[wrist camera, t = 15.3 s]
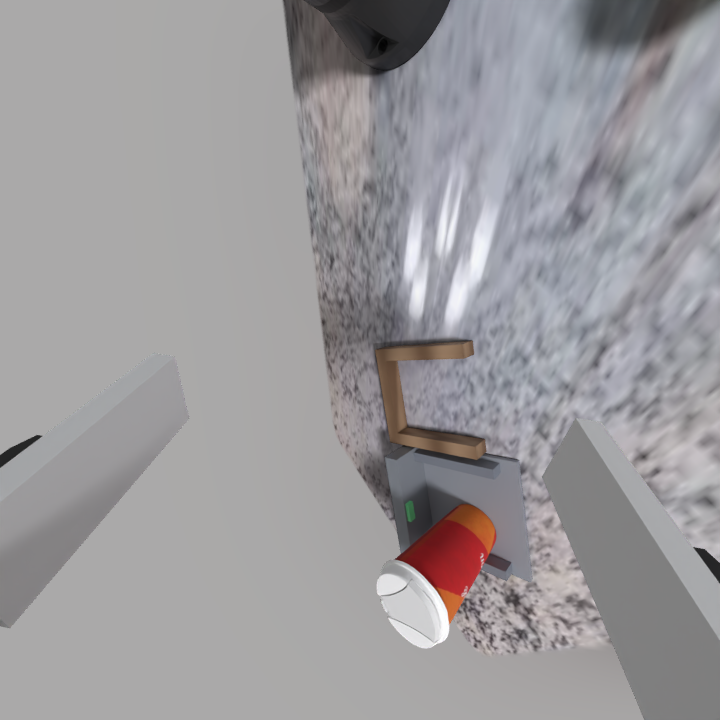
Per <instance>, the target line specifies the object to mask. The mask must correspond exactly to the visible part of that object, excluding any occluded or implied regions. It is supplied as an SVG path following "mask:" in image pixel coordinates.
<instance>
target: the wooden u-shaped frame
mask: <svg viewBox="0 0 720 720" xmlns="http://www.w3.org/2000/svg"><path fill="white" fill-rule="evenodd" d="M375 352H376V358H377V364H378V370H379V376H380V382H381V388H382V395H383V401H384V407H385V413H386V419H387V425H388V431H389V437H390V442H391V443H396V444H401V445H406V446H411V447H416V448H420V449H425V450H430V451H435V452H440V453H445V454H450V455H455V456H460V457H465V458H470V459H475V460H478V459H479V458H480V457H481V456H482V455H483V454H484V453H485V452H486V445H485V439H481V438H474V437H467V436H461V435H454V434H448V433H441V432H434V431H428V430H421V429H415V428H408V427H407V421H406V414H405V408H404V401H403V395H402V389H401V382H400V376H399V369H398V363H397V361H398V360H431V359H464V358H467V357H469V356H471V355H474V349H473V341H461V342H447V343H432V344H418V345H404V346H390V347H384V348H380V349H377V350H375Z"/></svg>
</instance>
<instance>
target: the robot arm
mask: <svg viewBox="0 0 720 720" xmlns="http://www.w3.org/2000/svg"><path fill="white" fill-rule="evenodd" d="M304 1H305V2H307V3H309V4H310V5H312V6H313V7H315V8H316V9H318V10H319V11H321V12H322V13H323V14H324V15H325V17H326V18H327V19H328V21H329V22H330V24H331V25H332V26H333V28H334V29H335V31H336V32H337V34H338V35H339V36H340V38H341V39H342V41H343V42H344V43H345V45H346V46H347V48H348V49H349V50H350V52H351V53H352V54H353V55H354V56H355V57H356V58H357V59H359V60H360V61H362V62H364V63H365V64H367V65H369V66H370V67H372V68H375V69H378V70H388V69H392V68H395V67H397V66H399V65H401V64H403V63H404V62H406V61H407V60H409V59H410V58H411V57H412V56H413V55H414V54H415V53H416V52H417V51H418V50H419V49H420V48H421V47H422V46H423V45H424V44H425V42H426V41H427V40H428V39H429V37H430V36H431V34H432V33H433V31H434V30H435V28H436V27H437V25H438V23H439V22H440V20H441V18H442V16H443V14H444V12H445V10H446V8H447V6H448V4H449V1H450V0H304ZM188 419H189V415H188V411H187V407H186V403H185V398H184V393H183V389H182V385H181V381H180V376H179V372H178V367H177V363H176V359H175V356H168V355H162V354H156V353H153V354H152V355H150V356H149V357H148V358H146V359H145V360H144V361H142V362H141V363H140V364H138V365H137V366H136V367H134V368H133V369H132V370H130V371H129V372H128V373H126V374H125V375H124V376H122V377H121V378H120V379H118V380H117V381H116V382H114V383H113V384H112V385H110V386H109V387H108V388H106V389H105V390H104V391H102V392H101V393H100V394H98V395H97V396H96V397H94V398H93V399H92V400H90V401H89V402H88V403H86V404H85V405H84V406H82V407H81V408H80V409H78V410H77V411H76V412H74V413H73V414H72V415H70V416H69V417H68V418H66V419H65V420H64V421H62V422H61V423H60V424H58V425H57V426H56V427H54V428H53V429H52V430H50V431H49V432H48V433H46V434H45V435H44V436H40V435H36V436H34V437H32V438H30V439H28V440H26V441H24V442H22V443H20V444H18V445H16V446H14V447H11V448H10V449H8V450H7V451H5V452H4V453H3V454H1V455H0V626H2V627H7V628H10V627H11V626H12V625H13V624H14V623H15V621H16V620H17V619H18V618H19V617H20V616H21V615H22V613H23V612H24V611H25V610H26V609H27V608H28V606H29V605H30V604H31V603H32V602H33V601H34V599H35V598H36V597H37V596H38V595H39V594H40V592H41V591H42V590H43V589H44V588H45V586H46V585H47V584H48V583H49V582H50V581H51V580H52V578H53V577H54V576H55V575H56V574H57V573H58V571H59V570H60V569H61V568H62V567H63V566H64V564H65V563H66V562H67V561H68V560H69V559H70V557H71V556H72V555H73V554H74V553H75V551H76V550H77V549H78V548H79V547H80V546H81V544H82V543H83V542H84V541H85V540H86V539H87V537H88V536H89V535H90V534H91V533H92V532H93V530H94V529H95V528H96V527H97V526H98V524H99V523H100V522H101V521H102V520H103V519H104V518H105V516H106V515H107V514H108V513H109V512H110V510H111V509H112V508H113V507H114V506H115V505H116V504H117V502H118V501H119V500H120V499H121V498H122V497H123V495H124V494H125V493H126V492H127V490H129V488H130V487H131V486H132V485H133V483H134V482H135V481H136V480H137V479H138V478H139V477H140V475H141V474H142V473H143V472H144V471H145V469H146V468H147V467H148V466H149V465H150V464H151V462H152V461H153V460H154V459H155V458H156V456H158V454H159V453H160V452H161V451H162V450H163V449H164V447H165V446H166V445H167V444H168V443H169V442H170V440H171V439H172V438H173V437H174V436H175V435H176V433H177V432H178V431H179V430H180V429H181V428H182V426H183V425H184V424H185V423H186V422H187V420H188ZM542 478H543V480H544V482H545V485H546V487H547V490H548V492H549V494H550V497H551V499H552V502H553V504H554V506H555V509H556V511H557V513H558V516H559V518H560V521H561V523H562V525H563V528H564V530H565V532H566V535H567V537H568V540H569V542H570V544H571V547H572V549H573V551H574V554H575V556H576V559H577V561H578V563H579V566H580V568H581V570H582V573H583V575H584V578H585V580H586V582H587V585H588V587H589V589H590V592H591V594H592V597H593V599H594V601H595V604H596V606H597V608H598V611H599V613H600V616H601V618H602V620H603V623H604V625H605V627H606V630H607V632H608V635H609V637H610V639H611V642H612V644H613V646H614V649H615V651H616V653H617V656H618V658H619V661H620V663H621V665H622V668H623V670H624V673H625V675H626V677H627V680H628V682H629V684H630V687H631V689H632V692H633V694H634V696H635V699H636V701H637V703H638V706H639V708H640V710H641V713H642V715H643V718H644V720H720V563H719V562H718V561H717V560H716V559H715V558H714V557H713V556H711V555H710V554H709V553H708V552H707V551H706V550H705V549H701V548H695V547H692V545H691V544H690V542H689V541H688V540H687V538H686V537H685V536H684V534H683V533H682V532H681V530H680V529H679V528H678V526H677V525H676V523H675V522H674V521H673V519H672V518H671V517H670V515H669V514H668V513H667V511H666V510H665V508H664V507H663V506H662V504H661V503H660V502H659V500H658V499H657V498H656V496H655V495H654V494H653V492H652V491H651V489H650V488H649V487H648V485H647V484H646V483H645V481H644V480H643V479H642V477H641V476H640V474H639V473H638V472H637V470H636V469H635V468H634V466H633V465H632V464H631V462H630V461H629V460H628V458H627V457H626V455H625V454H624V453H623V451H622V450H621V449H620V447H619V446H618V445H617V443H616V442H615V440H614V439H613V438H612V436H611V435H610V434H609V432H608V431H607V430H606V428H605V427H604V425H603V424H602V423H601V422H597V421H591V420H584V419H578V418H576V419H575V420H574V422H573V424H572V426H571V427H570V429H569V431H568V433H567V434H566V436H565V438H564V439H563V441H562V443H561V445H560V446H559V448H558V450H557V452H556V453H555V455H554V457H553V459H552V460H551V462H550V464H549V466H548V467H547V469H546V471H545V472H544V474H543V476H542Z"/></svg>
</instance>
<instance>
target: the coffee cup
mask: <svg viewBox="0 0 720 720" xmlns="http://www.w3.org/2000/svg"><path fill="white" fill-rule="evenodd" d="M495 542H496V530H495V527H494V525H493V523H492V521H491V520H490V518H489V517H488V516H487V515H486V514H485V513H484V512H483V511H482V510H480V509H479V508H477V507H475V506H473V505H469V504H461V505H459V506H457V507H455V508H454V509H453V510H452V511H450V512H449V513H448V514H447V515H445V516H444V517H443V518H442V519H441V520H440V521H438V522H437V523H436V524H435V525H434V526H433V527H431V528H430V529H429V530H428V531H427V532H426V533H425V534H423V535H422V536H421V537H420V538H419V539H418V540H417V541H415V542H414V543H413V544H412V545H411V546H410V547H408V548H407V549H406V550H405V551H404V552H403V553H402V554H400V555H399V556H398V557H397V558H396V559H395V560H390V561H388V562H386V563H385V564H384V565H383V567H382V571H381V574H380V576H379V578H378V581H377V594H378V595H380V597H381V599H380V600H381V603H382V606H383V608H384V610H385V612H387V613H388V619H389V621H390V622H391V623H392V625H393V626H394V627H395V629H396V630H397V631H398V632H399V633H400V634H401V635H402V636H403V637H404V638H405V639H407V640H408V641H409V642H411V643H412V644H414V645H416V646H418V647H420V648H430V647H433V646H434V645H435V644H437V643H441V642H443V641H444V640H445V639H446V638H447V636H448V633H449V624H450V623H451V621H452V619H453V617H454V616H455V614H456V612H457V610H458V609H459V607H460V605H461V603H462V602H463V600H464V598H465V596H466V595H467V593H468V591H469V589H470V588H471V586H472V584H473V582H474V581H475V579H476V577H477V575H478V574H479V572H480V570H481V568H482V566H483V565H484V563H485V561H486V559H487V557H488V556H489V554H490V552H491V550H492V548H493V546H494V544H495ZM388 611H389V612H388Z"/></svg>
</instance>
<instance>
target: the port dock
mask: <svg viewBox="0 0 720 720" xmlns="http://www.w3.org/2000/svg"><path fill="white" fill-rule="evenodd" d="M385 461H386V467H387V473H388V479H389V485H390V491H391V497H392V503H393V509H394V515H395V521H396V527H397V533H398V539H399V545H400V551H401V554H402V553H403V552H404V551H405V550H406V549H407V548H408V547H410V546H411V545H412V544H413V543H414V542H415V541H417V540H418V539H419V538H420V537H421V536H422V535H423V534H425V533H426V532H427V531H428V530H429V529H430V528H431V527H433V526H434V525H435V524H436V523H437V522H438V521H440V520H441V519H442V518H443V517H444V516H445V515H447V514H448V513H449V512H450V511H452V510H453V509H454V508H455V507H457V506H459V505H461V504H469V505H473V506H475V507H477V508H479V509H480V510H482V511H483V512H484V513H485V514H486V515H487V516H488V517H489V518H490V520H491V521H492V523H493V525H494V527H495V530H496V542H495V544H494V546H493V548H492V550H491V552H490V554H489V556H488V557H487V559H486V561H485V563H484V565H483V566H482V568H481V570H483V571H485V572H487V573H490V574H492V575H494V576H496V577H499V578H501V579H503V580H505V581H507V580H508V578H509V577H510V575H511V574H512V575H514V576H517V577H519V578H521V579H524V580H526V581H528V582H531V581H532V571H531V562H530V553H529V544H528V535H527V526H526V517H525V508H524V499H523V490H522V482H521V473H520V464H519V460H515V459H510V458H504V457H499V456H494V455H488V454H483V455H482V456H481V457H480V458H479V459H478V460H475V459H470V458H465V457H460V456H455V455H450V454H445V453H440V452H435V451H430V450H425V449H420V448H416V447H411V446H406V445H403V446H402V447H400V448H399V449H397V450H396V451H394V452H392V453H391V454H389V455H388V456H386V457H385Z"/></svg>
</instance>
